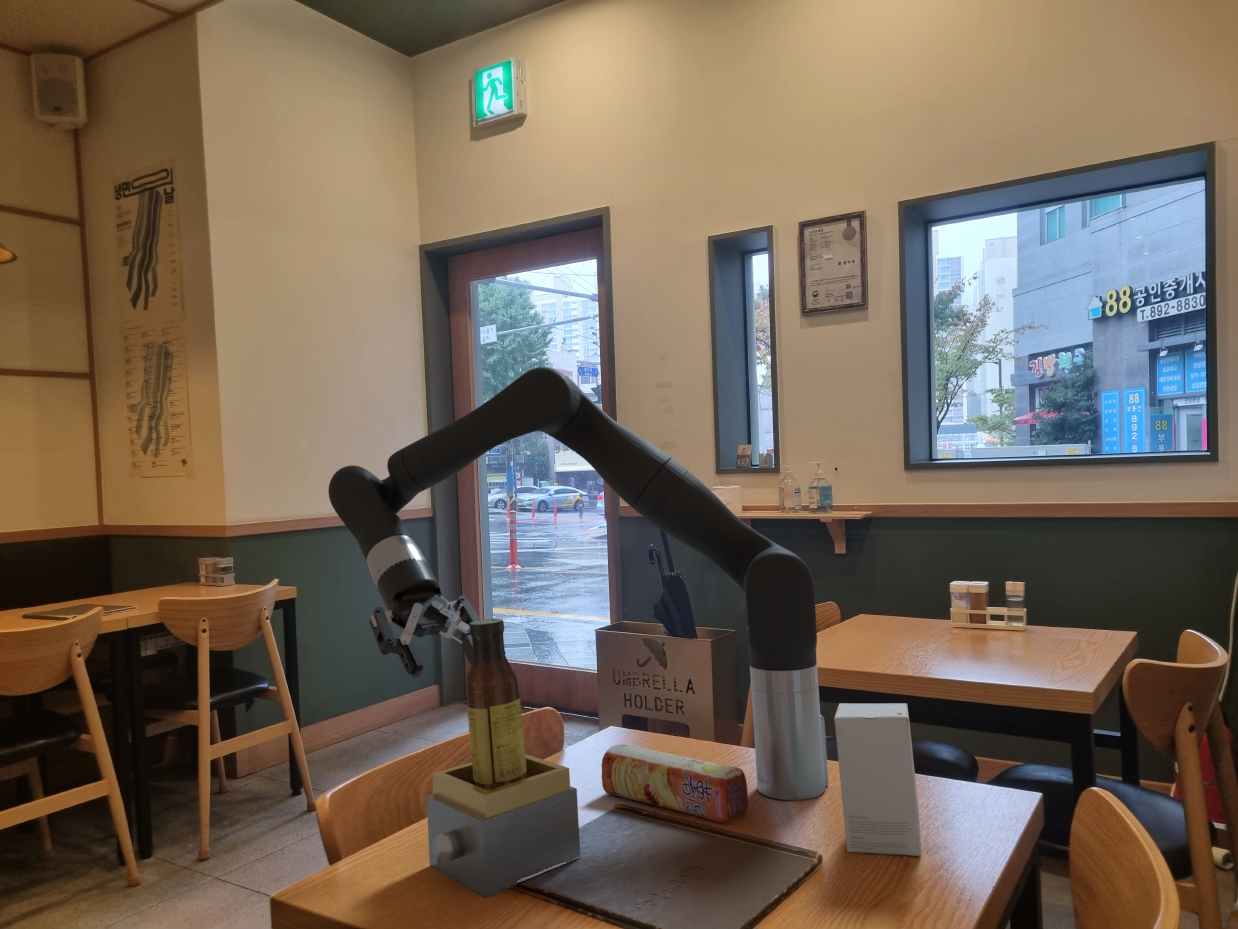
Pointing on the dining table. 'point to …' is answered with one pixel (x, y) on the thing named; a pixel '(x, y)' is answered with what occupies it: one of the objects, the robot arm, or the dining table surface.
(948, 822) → the dining table surface
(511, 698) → the sauce bottle
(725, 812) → the snack package
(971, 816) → the dining table surface
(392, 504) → the robot arm
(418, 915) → the dining table surface
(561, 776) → the box
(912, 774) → the skincare box
